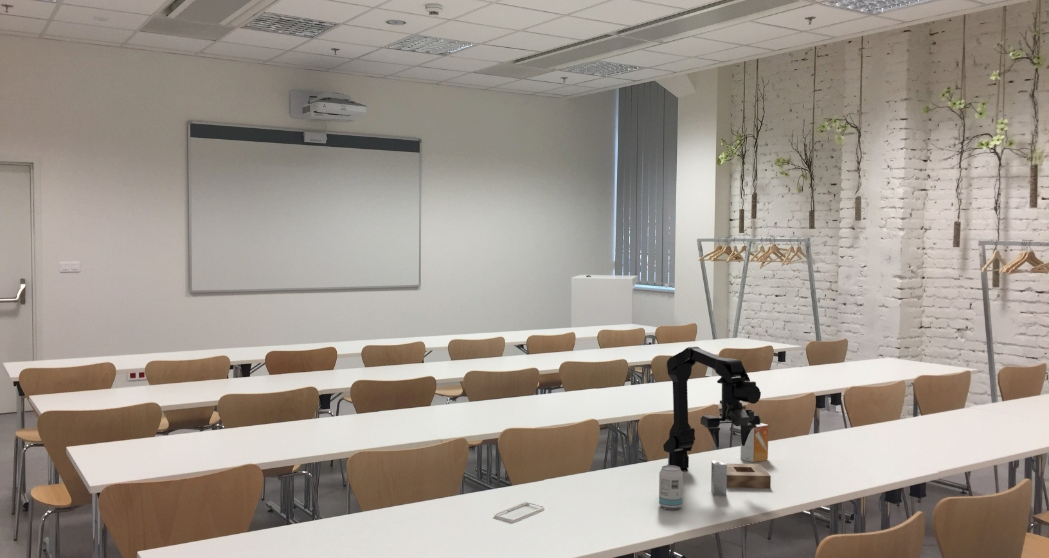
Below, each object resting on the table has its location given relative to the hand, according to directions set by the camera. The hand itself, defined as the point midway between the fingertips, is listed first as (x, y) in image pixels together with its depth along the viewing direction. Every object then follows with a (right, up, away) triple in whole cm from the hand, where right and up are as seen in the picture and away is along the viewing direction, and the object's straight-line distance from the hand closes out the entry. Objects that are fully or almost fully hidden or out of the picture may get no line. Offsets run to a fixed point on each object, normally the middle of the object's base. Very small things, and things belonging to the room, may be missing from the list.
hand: (730, 446), depth 262 cm
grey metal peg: (-5, -14, -5) cm, 16 cm away
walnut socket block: (+7, -13, +8) cm, 17 cm away
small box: (+18, -12, +36) cm, 42 cm away
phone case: (-68, -15, -25) cm, 74 cm away
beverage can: (-23, -15, -19) cm, 33 cm away
